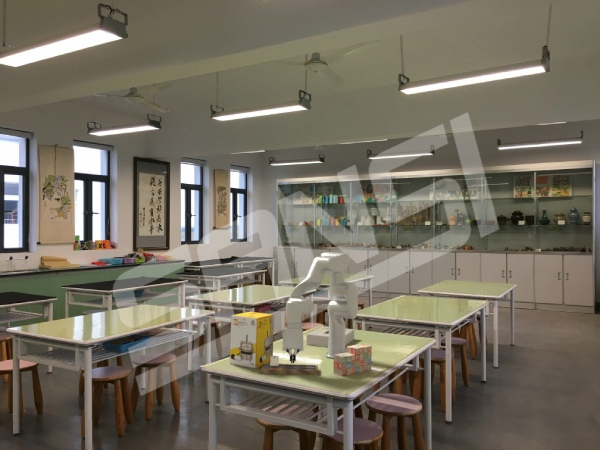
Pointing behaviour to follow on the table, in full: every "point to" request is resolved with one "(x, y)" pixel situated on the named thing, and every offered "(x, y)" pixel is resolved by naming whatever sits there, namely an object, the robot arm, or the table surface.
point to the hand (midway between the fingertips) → (292, 362)
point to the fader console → (290, 369)
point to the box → (326, 337)
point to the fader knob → (274, 360)
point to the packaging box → (251, 339)
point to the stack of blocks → (353, 360)
